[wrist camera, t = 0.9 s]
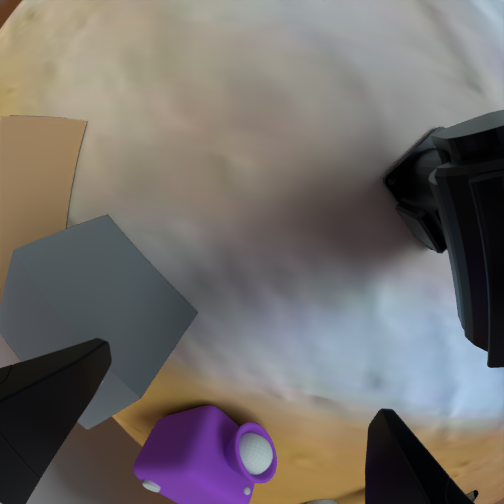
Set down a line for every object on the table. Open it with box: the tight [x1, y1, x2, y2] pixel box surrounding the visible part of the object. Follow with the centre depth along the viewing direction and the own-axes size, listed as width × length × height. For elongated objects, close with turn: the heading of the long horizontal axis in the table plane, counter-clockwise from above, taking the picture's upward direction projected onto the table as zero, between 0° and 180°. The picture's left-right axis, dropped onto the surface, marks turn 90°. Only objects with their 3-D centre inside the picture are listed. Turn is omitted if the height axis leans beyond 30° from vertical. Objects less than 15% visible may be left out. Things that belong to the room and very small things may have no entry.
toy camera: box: [133, 405, 277, 504], centre depth 22 cm, size 11×14×10 cm
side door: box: [0, 115, 87, 305], centre depth 17 cm, size 17×2×9 cm, turn 159°
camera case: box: [0, 215, 198, 430], centre depth 18 cm, size 11×11×11 cm
